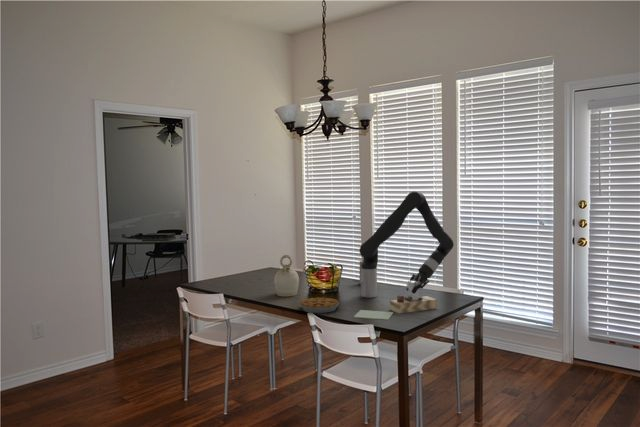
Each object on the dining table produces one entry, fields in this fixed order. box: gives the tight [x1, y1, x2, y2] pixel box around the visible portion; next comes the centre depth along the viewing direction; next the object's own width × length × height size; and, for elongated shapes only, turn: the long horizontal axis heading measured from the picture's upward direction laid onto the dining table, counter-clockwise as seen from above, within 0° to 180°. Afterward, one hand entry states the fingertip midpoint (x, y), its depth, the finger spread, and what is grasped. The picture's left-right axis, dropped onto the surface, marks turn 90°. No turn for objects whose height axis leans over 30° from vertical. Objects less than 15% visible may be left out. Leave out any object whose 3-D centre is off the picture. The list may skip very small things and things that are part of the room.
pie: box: [299, 296, 340, 314], centre depth 281 cm, size 22×22×5 cm
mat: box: [353, 309, 394, 321], centre depth 265 cm, size 18×14×1 cm
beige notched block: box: [389, 294, 438, 314], centre depth 276 cm, size 24×9×8 cm, turn 112°
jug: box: [273, 254, 300, 298], centre depth 316 cm, size 15×16×25 cm
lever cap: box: [407, 280, 420, 301], centre depth 276 cm, size 4×4×10 cm
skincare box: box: [359, 260, 363, 285], centre depth 344 cm, size 8×7×16 cm
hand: (410, 291), depth 275 cm, fingers closed on lever cap, 4 cm apart
